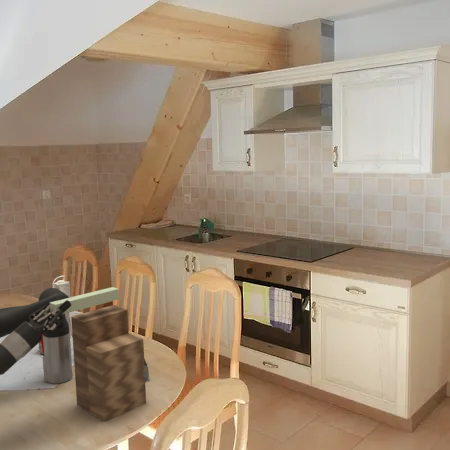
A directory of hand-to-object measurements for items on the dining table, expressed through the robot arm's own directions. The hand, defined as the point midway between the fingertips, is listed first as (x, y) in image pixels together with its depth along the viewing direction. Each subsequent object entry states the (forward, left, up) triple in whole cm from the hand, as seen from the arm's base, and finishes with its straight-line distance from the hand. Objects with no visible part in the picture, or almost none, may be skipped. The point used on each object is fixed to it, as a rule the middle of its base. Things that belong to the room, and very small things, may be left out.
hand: (65, 301), depth 161 cm
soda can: (-24, +50, -37) cm, 67 cm away
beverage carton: (+15, +29, -37) cm, 50 cm away
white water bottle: (-22, +65, -37) cm, 78 cm away
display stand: (+11, +5, -37) cm, 39 cm away
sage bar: (+5, +5, -3) cm, 8 cm away
